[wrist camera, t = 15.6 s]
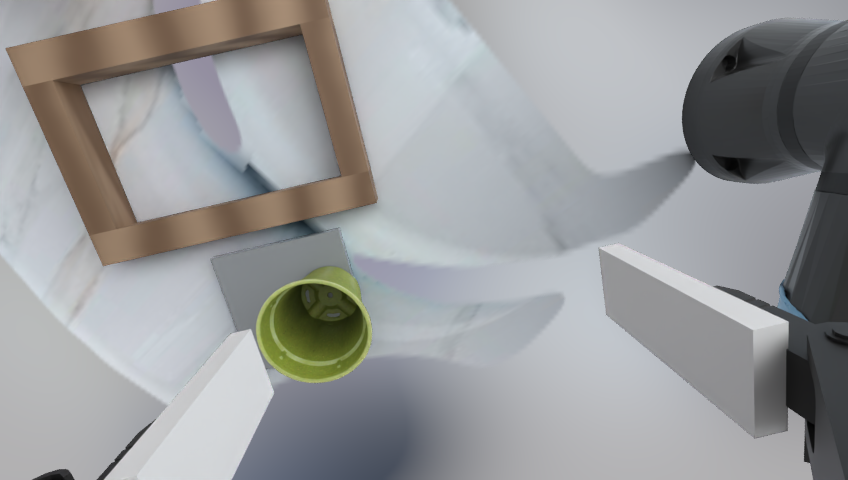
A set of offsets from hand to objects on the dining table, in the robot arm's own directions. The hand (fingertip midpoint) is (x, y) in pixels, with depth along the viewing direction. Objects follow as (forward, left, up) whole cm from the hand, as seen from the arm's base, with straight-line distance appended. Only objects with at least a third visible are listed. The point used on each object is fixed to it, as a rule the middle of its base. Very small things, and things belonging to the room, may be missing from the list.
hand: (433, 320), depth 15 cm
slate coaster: (+14, +7, -27) cm, 31 cm away
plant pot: (+10, +7, -26) cm, 29 cm away
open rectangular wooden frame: (+16, -11, -27) cm, 33 cm away
